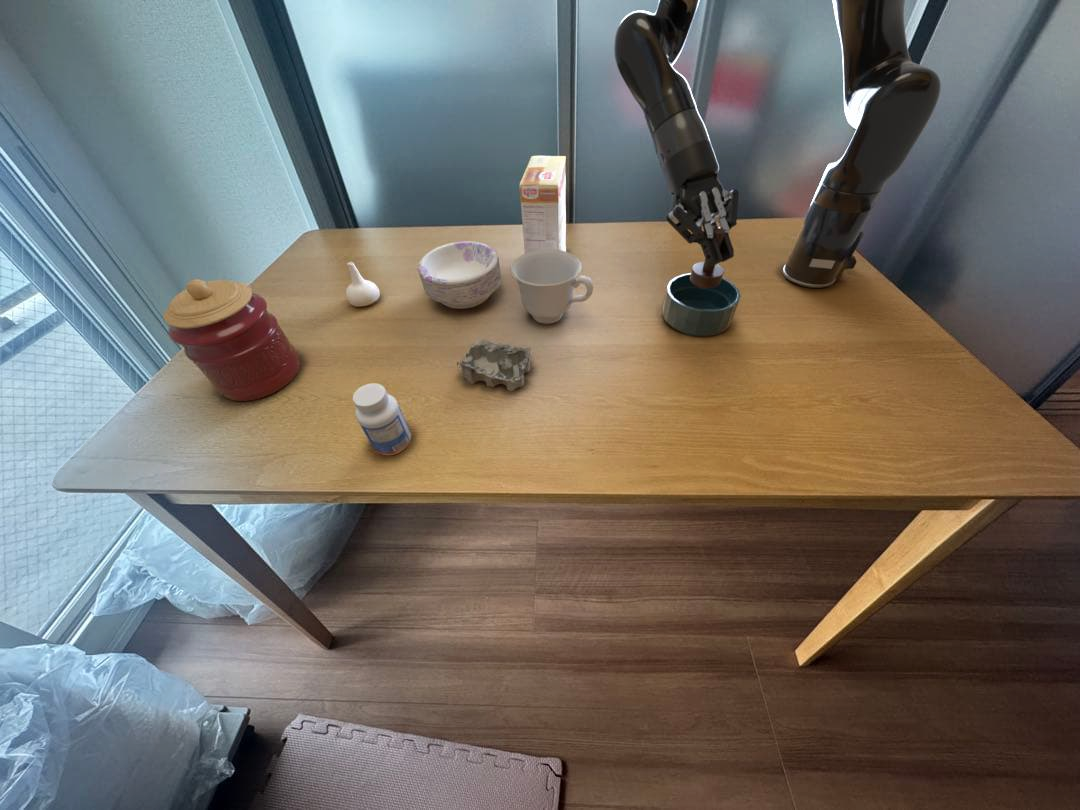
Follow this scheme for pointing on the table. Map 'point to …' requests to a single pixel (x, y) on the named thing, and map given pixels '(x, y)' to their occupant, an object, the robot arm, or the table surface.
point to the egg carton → (496, 364)
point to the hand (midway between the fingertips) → (722, 261)
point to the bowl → (699, 306)
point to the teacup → (549, 283)
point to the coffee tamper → (708, 268)
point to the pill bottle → (381, 419)
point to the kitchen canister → (232, 338)
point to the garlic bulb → (360, 289)
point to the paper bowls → (460, 274)
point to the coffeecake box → (544, 203)
